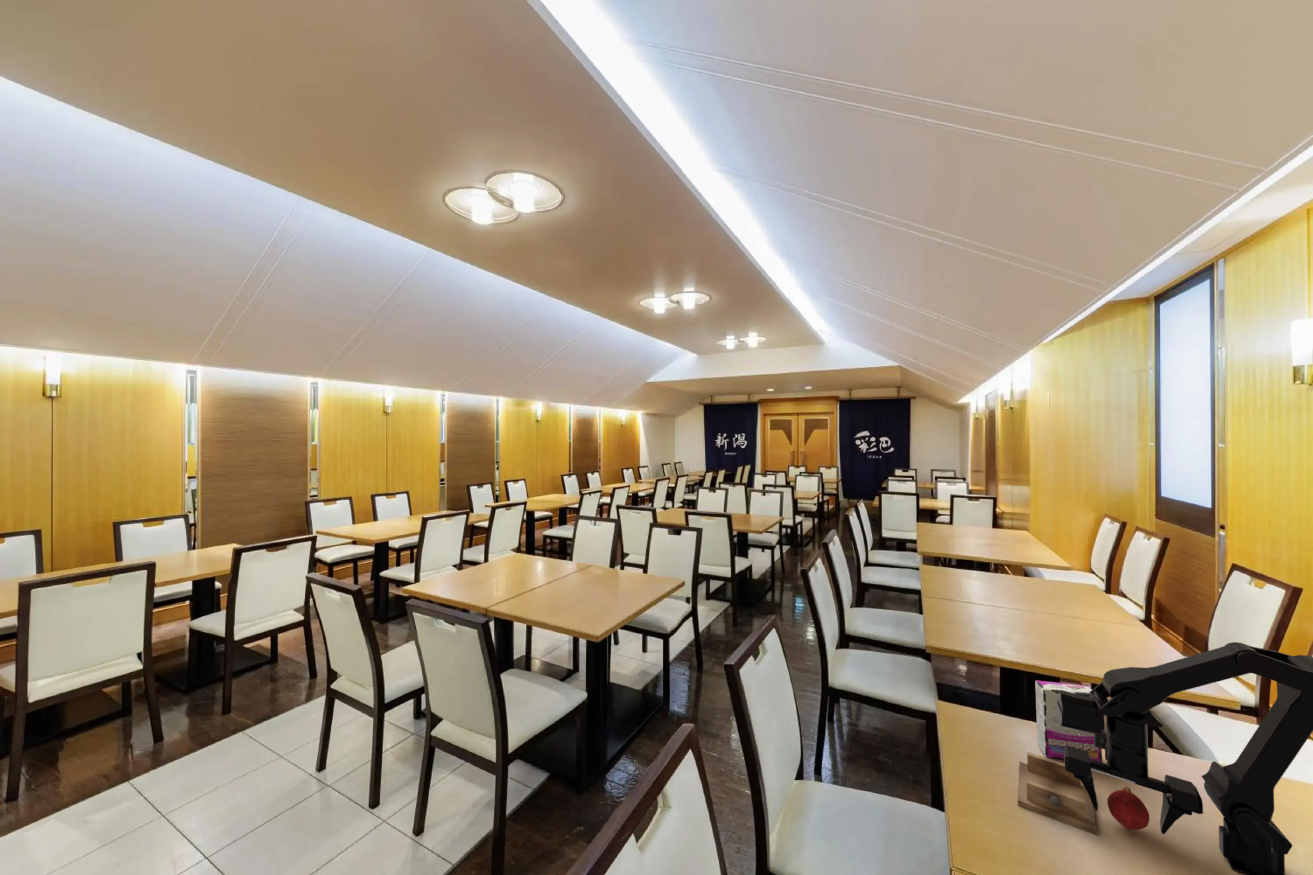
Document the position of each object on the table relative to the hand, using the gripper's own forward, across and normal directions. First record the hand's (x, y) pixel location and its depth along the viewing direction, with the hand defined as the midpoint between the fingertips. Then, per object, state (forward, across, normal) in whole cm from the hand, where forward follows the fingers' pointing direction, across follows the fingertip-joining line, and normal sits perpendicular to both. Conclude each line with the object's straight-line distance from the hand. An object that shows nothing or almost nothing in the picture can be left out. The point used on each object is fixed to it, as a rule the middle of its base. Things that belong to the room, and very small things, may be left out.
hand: (1128, 820), depth 92 cm
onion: (+2, 0, 0) cm, 2 cm away
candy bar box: (+2, +8, -21) cm, 23 cm away
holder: (+2, +11, -2) cm, 11 cm away
